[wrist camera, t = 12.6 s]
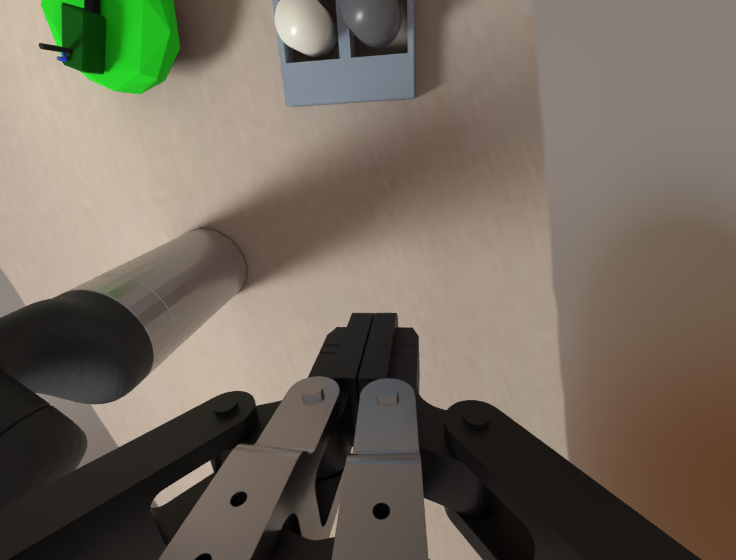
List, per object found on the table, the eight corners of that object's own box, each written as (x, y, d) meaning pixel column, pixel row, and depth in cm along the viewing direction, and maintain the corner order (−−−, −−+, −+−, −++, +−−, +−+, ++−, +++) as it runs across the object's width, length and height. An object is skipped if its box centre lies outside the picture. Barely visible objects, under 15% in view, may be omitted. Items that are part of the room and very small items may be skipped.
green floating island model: (195, 110, 40) (119, 111, 30) (89, 69, 39) (-24, 56, 29) (212, -25, 35) (127, -78, 25) (90, -74, 34) (-45, -148, 24)
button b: (355, 50, 33) (343, 39, 28) (352, -6, 31) (338, -28, 26) (401, 46, 32) (396, 33, 27) (400, -12, 30) (395, -35, 26)
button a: (298, 60, 36) (278, 51, 31) (292, 9, 34) (271, -8, 30) (339, 56, 35) (325, 47, 31) (335, 4, 34) (320, -14, 29)
